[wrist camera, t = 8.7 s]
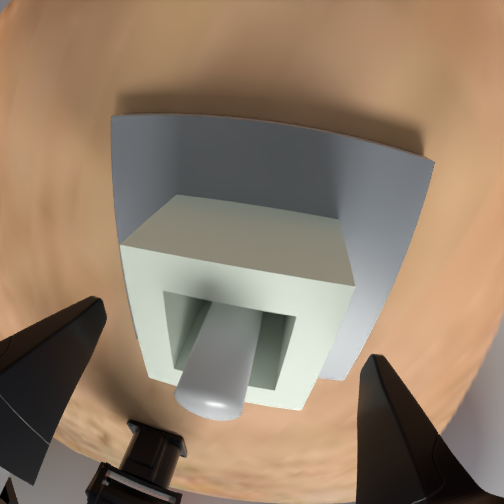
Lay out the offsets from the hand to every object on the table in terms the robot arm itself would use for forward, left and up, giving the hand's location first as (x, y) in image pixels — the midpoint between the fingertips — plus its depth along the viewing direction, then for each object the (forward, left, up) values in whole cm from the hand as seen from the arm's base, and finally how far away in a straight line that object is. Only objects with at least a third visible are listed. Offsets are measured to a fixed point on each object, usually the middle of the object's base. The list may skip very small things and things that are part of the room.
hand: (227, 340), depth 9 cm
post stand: (0, 0, -5) cm, 5 cm away
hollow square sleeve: (0, 0, -4) cm, 4 cm away
